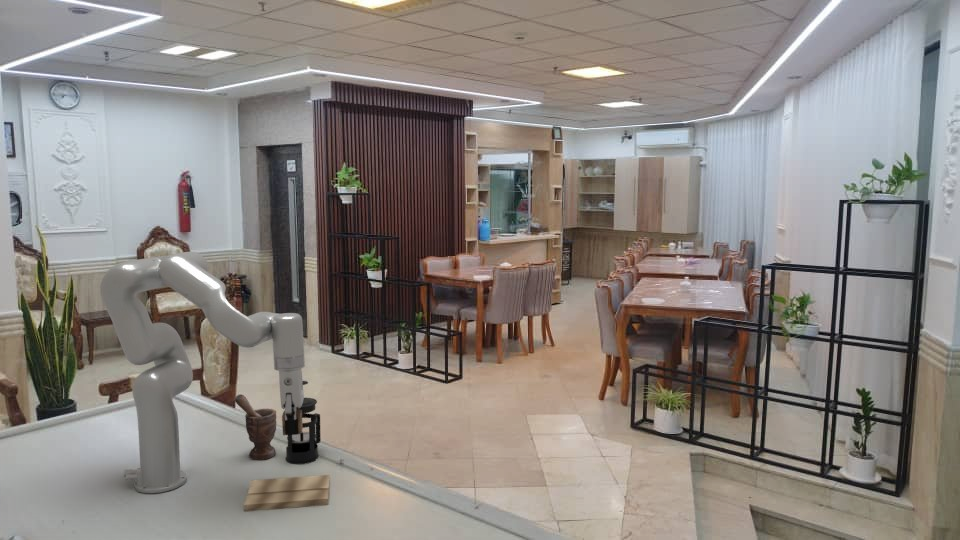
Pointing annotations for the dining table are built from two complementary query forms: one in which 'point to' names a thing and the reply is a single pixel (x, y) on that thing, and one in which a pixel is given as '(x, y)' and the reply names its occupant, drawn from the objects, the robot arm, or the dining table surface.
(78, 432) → the dining table surface
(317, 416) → the french press
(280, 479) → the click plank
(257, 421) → the mortar and pestle
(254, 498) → the laid board
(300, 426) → the walnut block
